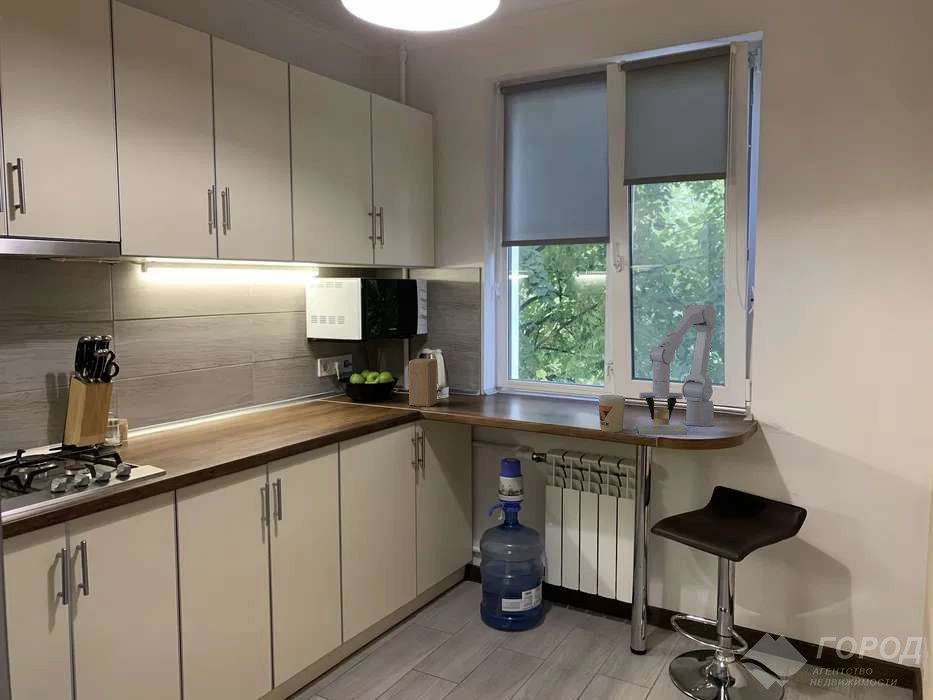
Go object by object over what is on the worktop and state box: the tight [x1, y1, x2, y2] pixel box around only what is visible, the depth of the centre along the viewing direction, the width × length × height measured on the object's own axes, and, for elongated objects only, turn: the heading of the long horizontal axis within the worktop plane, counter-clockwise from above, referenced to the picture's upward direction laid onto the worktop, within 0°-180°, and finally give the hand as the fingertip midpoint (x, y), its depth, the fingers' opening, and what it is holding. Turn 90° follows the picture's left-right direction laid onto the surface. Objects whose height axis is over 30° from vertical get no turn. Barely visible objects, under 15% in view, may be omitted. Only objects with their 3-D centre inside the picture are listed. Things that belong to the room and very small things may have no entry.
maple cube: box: [651, 407, 670, 425], centre depth 254 cm, size 5×5×5 cm
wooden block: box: [408, 358, 438, 408], centre depth 313 cm, size 10×10×20 cm
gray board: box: [634, 423, 688, 435], centre depth 254 cm, size 16×12×1 cm
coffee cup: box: [597, 394, 626, 433], centre depth 256 cm, size 9×9×12 cm
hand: (660, 419), depth 254 cm, fingers closed on maple cube, 5 cm apart
